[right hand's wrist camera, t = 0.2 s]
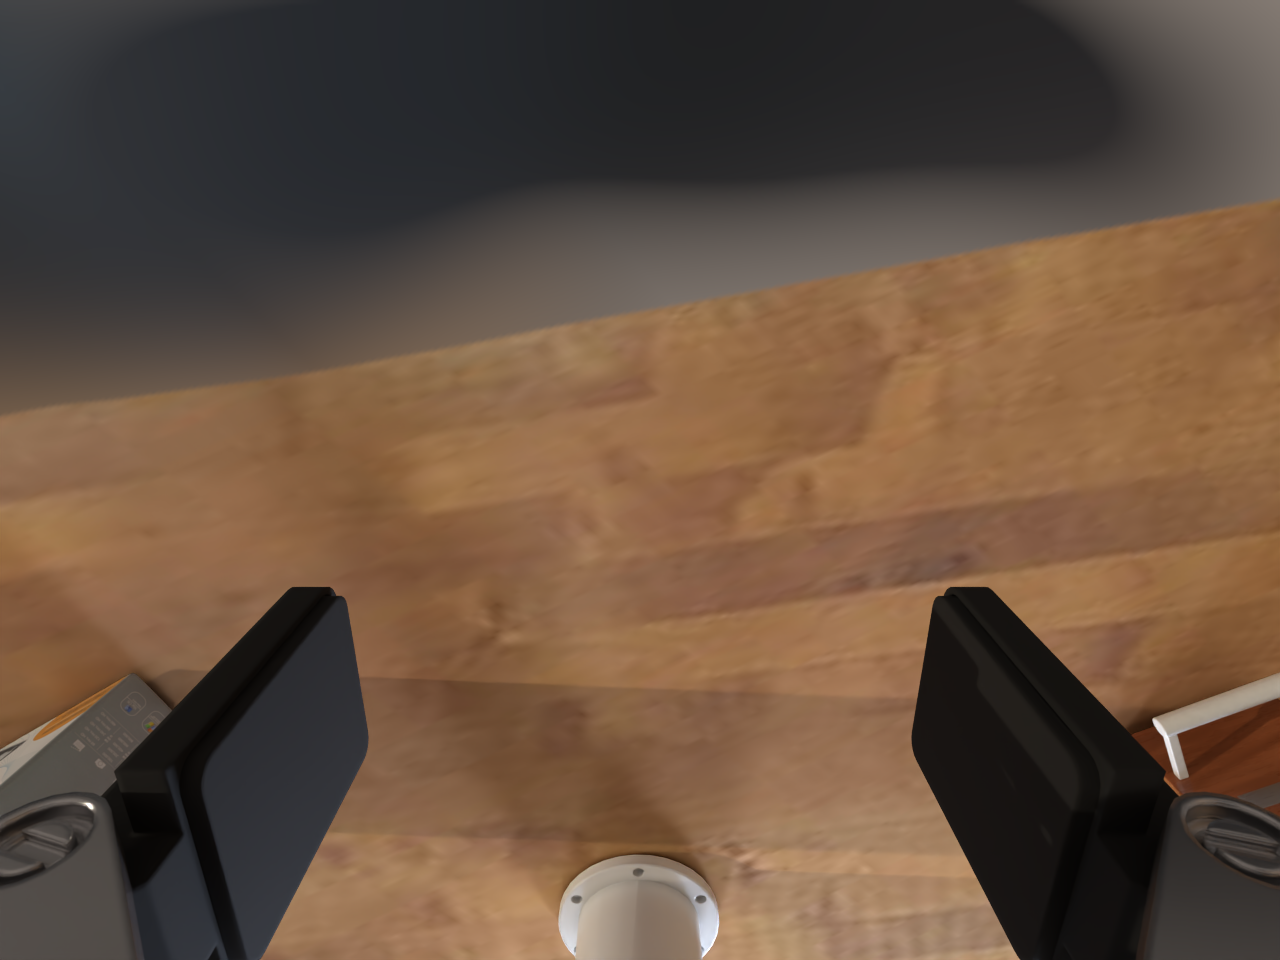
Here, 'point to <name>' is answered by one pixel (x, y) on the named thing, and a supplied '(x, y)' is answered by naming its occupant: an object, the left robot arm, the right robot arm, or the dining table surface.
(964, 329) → the dining table surface
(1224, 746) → the drawer
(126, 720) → the hard drive box
